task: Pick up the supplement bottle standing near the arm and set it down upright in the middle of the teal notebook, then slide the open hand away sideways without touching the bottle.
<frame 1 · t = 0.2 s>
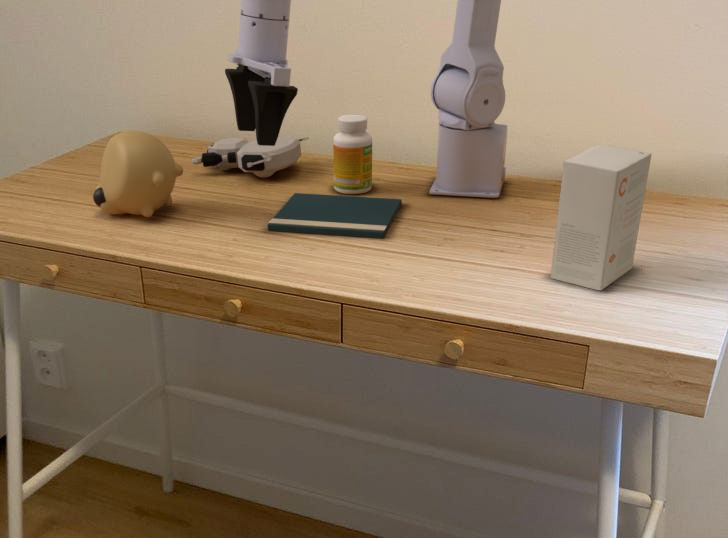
hand: (256, 137, 115), 11 cm above the table, tool pointing down, fingers open, 7 cm apart
robot toy: (251, 171, 139), on the table
teal notebook: (336, 217, 121), on the table
supplement bottle: (352, 190, 131), on the table
toy pig: (140, 214, 125), on the table
small box: (590, 275, 104), on the table
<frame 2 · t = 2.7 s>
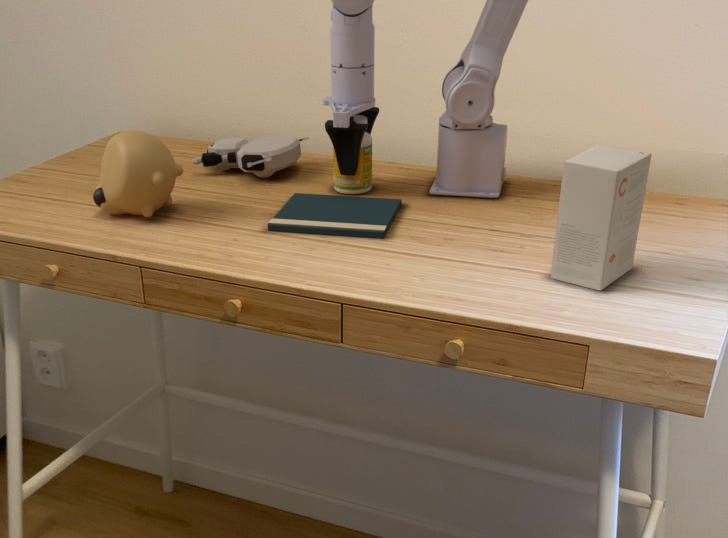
hand: (352, 168, 129), 3 cm above the table, tool pointing down, fingers closed on supplement bottle, 5 cm apart
supplement bottle: (352, 190, 131), on the table, touching gripper
everything else where it was.
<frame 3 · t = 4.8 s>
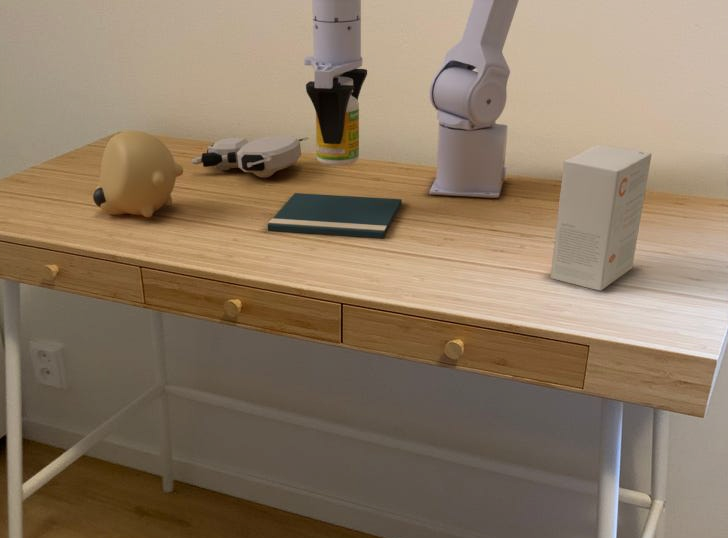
hand: (338, 136, 117), 10 cm above the table, tool pointing down, fingers closed on supplement bottle, 5 cm apart
supplement bottle: (337, 161, 119), point 7 cm above the table, touching gripper
everything else where it was.
when the fingers open (4 cm above the table, at t = 7.3 s): supplement bottle stays where it is, resting on teal notebook.
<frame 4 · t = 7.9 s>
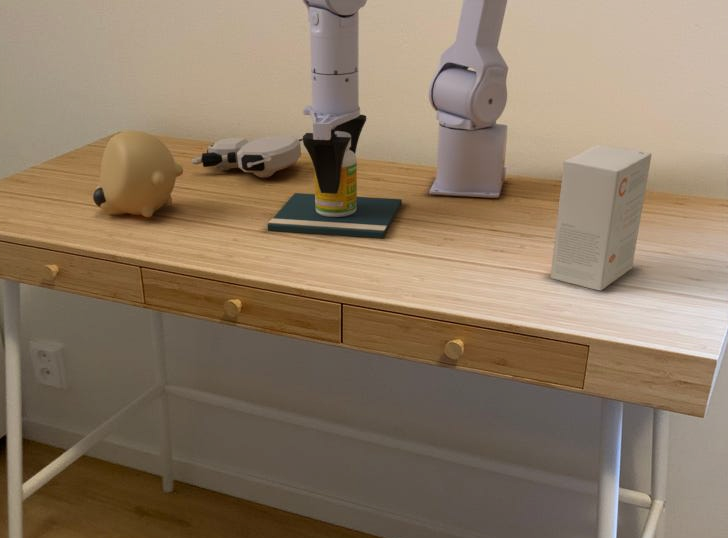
hand: (336, 183, 119), 4 cm above the table, tool pointing down, fingers open, 7 cm apart
supplement bottle: (336, 212, 121), point 1 cm above the table, touching teal notebook
everything else where it was.
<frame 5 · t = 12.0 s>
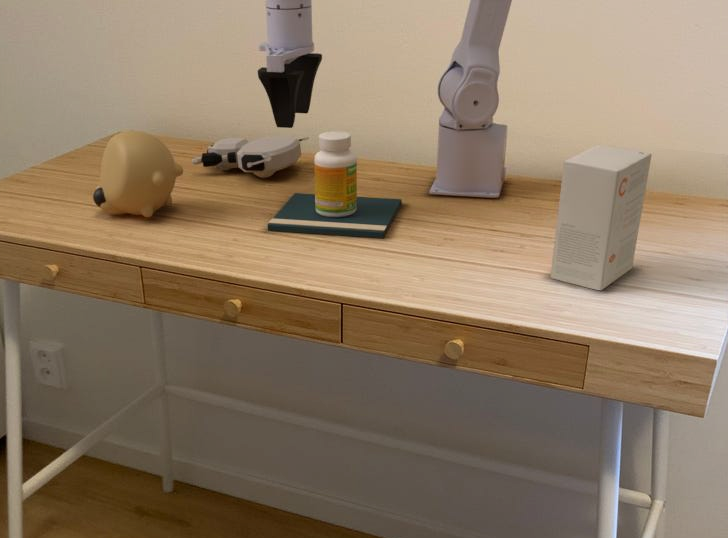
hand: (292, 119, 123), 10 cm above the table, tool pointing down, fingers open, 7 cm apart
nothing on the table moved.
at the end: supplement bottle inside the target area on the teal notebook (0.1 cm from its centre), point 0.6 cm above the teal notebook's base; supplement bottle tilted 0°; supplement bottle touching teal notebook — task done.
